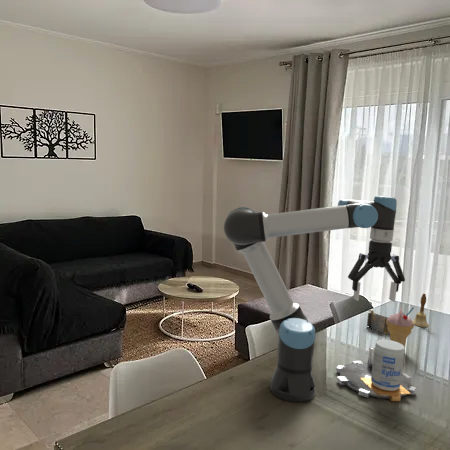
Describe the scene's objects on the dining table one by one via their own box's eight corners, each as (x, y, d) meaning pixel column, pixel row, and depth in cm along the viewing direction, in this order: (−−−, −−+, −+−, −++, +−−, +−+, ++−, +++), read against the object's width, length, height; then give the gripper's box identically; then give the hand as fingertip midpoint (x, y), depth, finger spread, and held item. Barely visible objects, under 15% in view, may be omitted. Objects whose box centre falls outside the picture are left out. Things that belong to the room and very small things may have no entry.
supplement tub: (381, 393, 150) (386, 350, 148) (365, 379, 159) (369, 339, 157) (406, 390, 153) (411, 349, 151) (389, 377, 162) (393, 338, 160)
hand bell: (430, 324, 231) (433, 293, 229) (427, 328, 224) (431, 297, 222) (412, 320, 235) (416, 290, 233) (409, 324, 228) (413, 293, 226)
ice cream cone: (408, 347, 198) (414, 303, 195) (412, 357, 187) (417, 310, 185) (382, 343, 201) (387, 299, 198) (384, 352, 190) (389, 306, 188)
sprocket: (410, 410, 144) (413, 384, 143) (326, 386, 157) (328, 362, 156) (419, 377, 168) (422, 355, 167) (345, 358, 181) (347, 337, 180)
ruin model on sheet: (366, 328, 220) (368, 309, 219) (369, 327, 222) (371, 308, 221) (387, 336, 212) (389, 315, 210) (390, 334, 214) (393, 314, 212)
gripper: (351, 241, 152) (344, 302, 155) (420, 244, 156) (412, 304, 159) (342, 237, 159) (336, 296, 162) (408, 240, 163) (401, 297, 166)
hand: (374, 300), depth 160 cm, fingers open, 13 cm apart
